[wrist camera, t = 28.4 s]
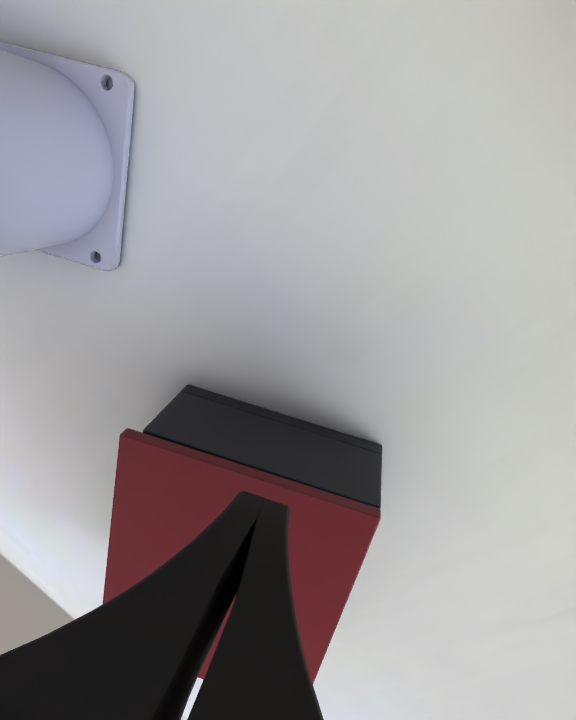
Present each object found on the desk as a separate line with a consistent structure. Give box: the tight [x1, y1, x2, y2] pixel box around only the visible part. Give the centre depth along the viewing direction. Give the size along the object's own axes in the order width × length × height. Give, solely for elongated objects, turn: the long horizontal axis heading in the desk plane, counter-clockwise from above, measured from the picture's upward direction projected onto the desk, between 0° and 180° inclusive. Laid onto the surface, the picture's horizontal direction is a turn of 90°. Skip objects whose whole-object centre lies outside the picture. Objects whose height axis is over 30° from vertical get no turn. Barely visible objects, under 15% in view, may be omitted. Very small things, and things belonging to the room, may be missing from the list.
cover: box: [103, 428, 381, 684], centre depth 20 cm, size 11×13×1 cm
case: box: [143, 385, 382, 509], centre depth 23 cm, size 10×13×5 cm
